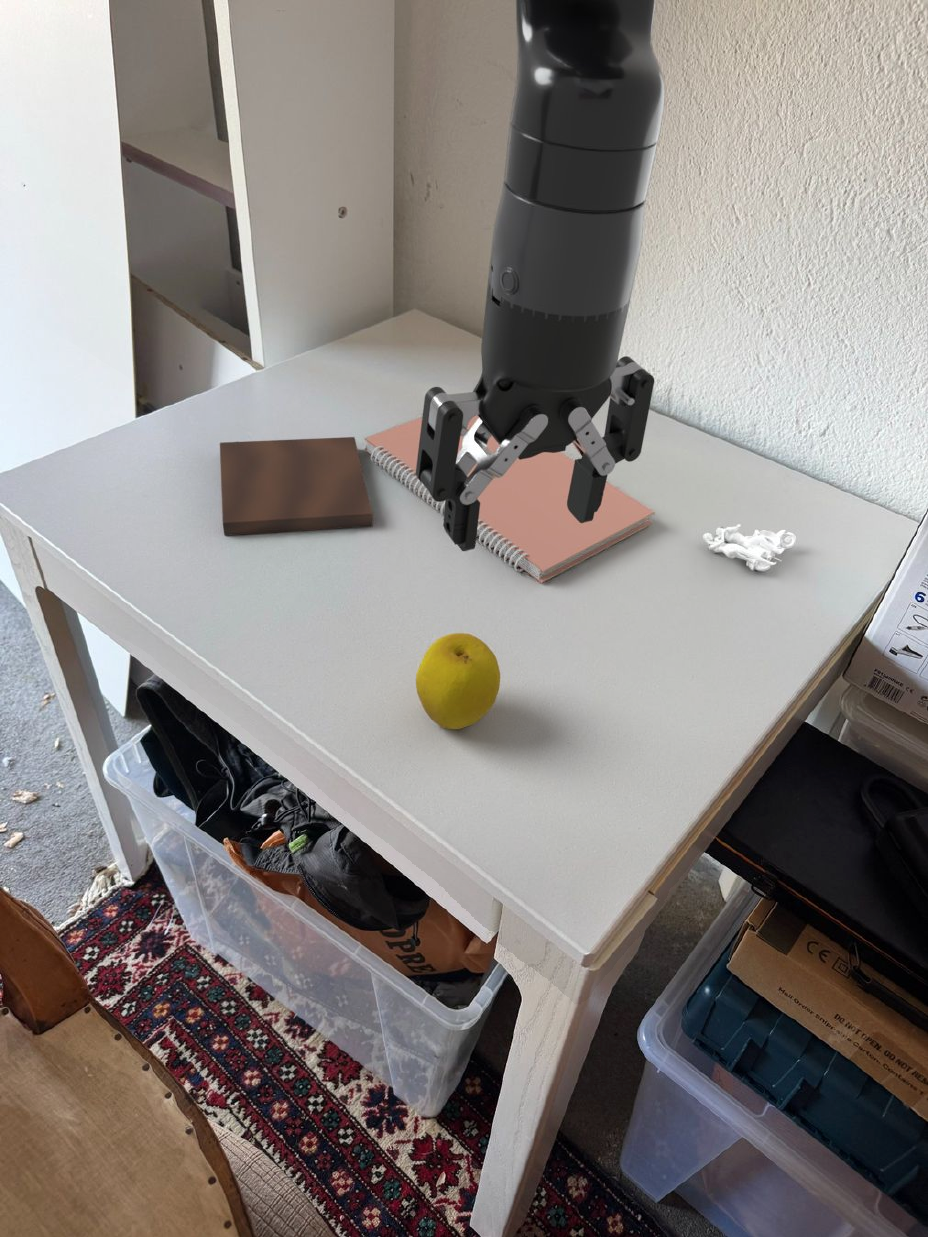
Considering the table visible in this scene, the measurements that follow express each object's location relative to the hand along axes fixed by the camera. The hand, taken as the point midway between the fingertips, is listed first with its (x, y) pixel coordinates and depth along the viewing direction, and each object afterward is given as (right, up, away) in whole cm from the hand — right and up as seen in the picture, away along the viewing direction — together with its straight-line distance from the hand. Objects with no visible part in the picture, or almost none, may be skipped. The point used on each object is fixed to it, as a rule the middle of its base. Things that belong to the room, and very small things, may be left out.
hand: (521, 529), depth 59 cm
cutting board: (-21, +7, +34) cm, 41 cm away
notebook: (0, +8, +37) cm, 38 cm away
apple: (-4, -13, +14) cm, 20 cm away
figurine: (+24, +1, +33) cm, 41 cm away
